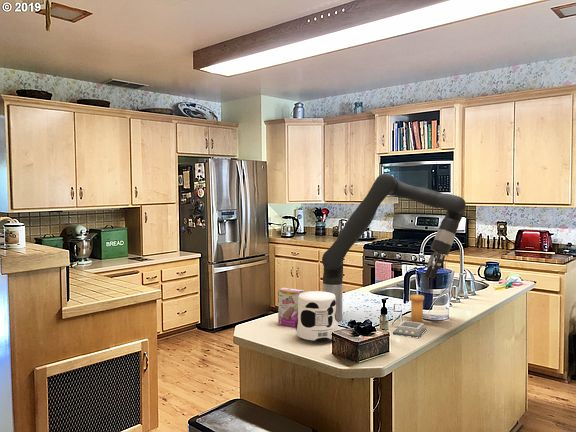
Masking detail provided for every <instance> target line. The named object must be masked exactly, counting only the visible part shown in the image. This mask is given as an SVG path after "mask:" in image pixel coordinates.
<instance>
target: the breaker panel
mask: <svg viewBox="0 0 576 432" xmlns="http://www.w3.org/2000/svg"><path fill="white" fill-rule="evenodd" d="M396 326H397V327H396V329H394V330H393V331H392V335H393V336H394V335H395V336H401V335H403V337H407V336H411V337H410V338H413V337H418V338H417V339H420V338H421V337H422V336H421V334H422V333H423V332H424V331H425V330H426V331H427V327H425V323H418V322H411V320H402V321H401V322H400V323H399V324H398V325H396ZM426 331H425V332H426ZM425 332H424V333H425ZM420 336H421V337H420ZM419 337H420V338H419Z"/></svg>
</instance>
